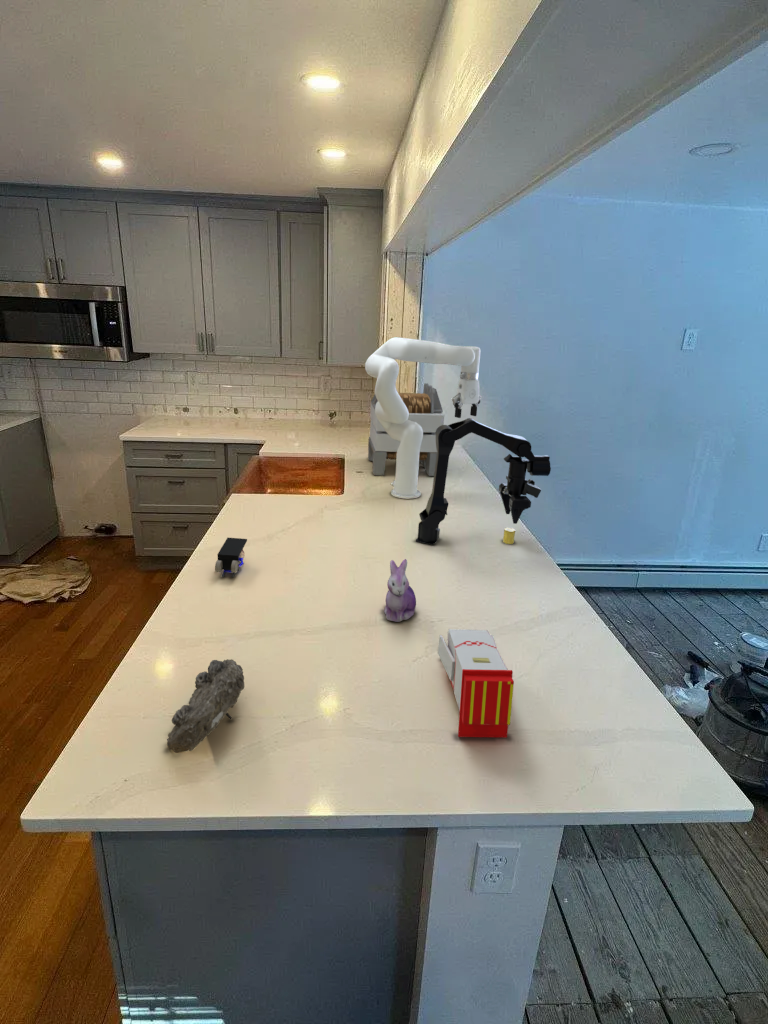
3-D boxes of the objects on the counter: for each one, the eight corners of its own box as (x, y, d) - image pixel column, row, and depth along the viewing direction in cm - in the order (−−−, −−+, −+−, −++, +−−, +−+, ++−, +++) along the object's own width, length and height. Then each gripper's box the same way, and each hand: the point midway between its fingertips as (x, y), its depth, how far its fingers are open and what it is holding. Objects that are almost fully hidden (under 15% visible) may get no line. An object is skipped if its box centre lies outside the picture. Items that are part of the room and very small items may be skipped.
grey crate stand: (367, 457, 298) (369, 379, 284) (428, 458, 302) (433, 380, 288) (373, 475, 266) (376, 388, 253) (441, 476, 270) (448, 390, 256)
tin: (500, 540, 198) (502, 528, 196) (509, 539, 200) (510, 526, 198) (507, 544, 195) (509, 532, 193) (516, 543, 196) (517, 530, 195)
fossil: (192, 660, 117) (244, 628, 112) (224, 691, 120) (276, 661, 115) (142, 746, 98) (202, 712, 93) (182, 779, 101) (242, 748, 96)
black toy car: (238, 584, 162) (249, 557, 175) (236, 562, 158) (247, 536, 172) (215, 584, 161) (227, 556, 175) (212, 561, 158) (225, 535, 171)
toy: (488, 613, 130) (523, 677, 101) (484, 667, 133) (517, 744, 104) (435, 612, 130) (455, 676, 101) (432, 666, 133) (451, 743, 103)
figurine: (392, 627, 141) (395, 572, 136) (374, 608, 149) (376, 556, 144) (425, 619, 145) (429, 566, 140) (405, 601, 154) (408, 550, 149)
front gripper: (549, 483, 181) (543, 529, 186) (532, 468, 198) (526, 510, 204) (515, 482, 180) (509, 528, 185) (500, 467, 197) (495, 509, 203)
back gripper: (461, 378, 233) (457, 419, 239) (489, 376, 244) (485, 416, 249) (448, 376, 239) (445, 416, 245) (476, 374, 249) (472, 413, 255)
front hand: (511, 518), depth 194 cm, fingers open, 9 cm apart
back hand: (465, 416), depth 247 cm, fingers open, 9 cm apart
